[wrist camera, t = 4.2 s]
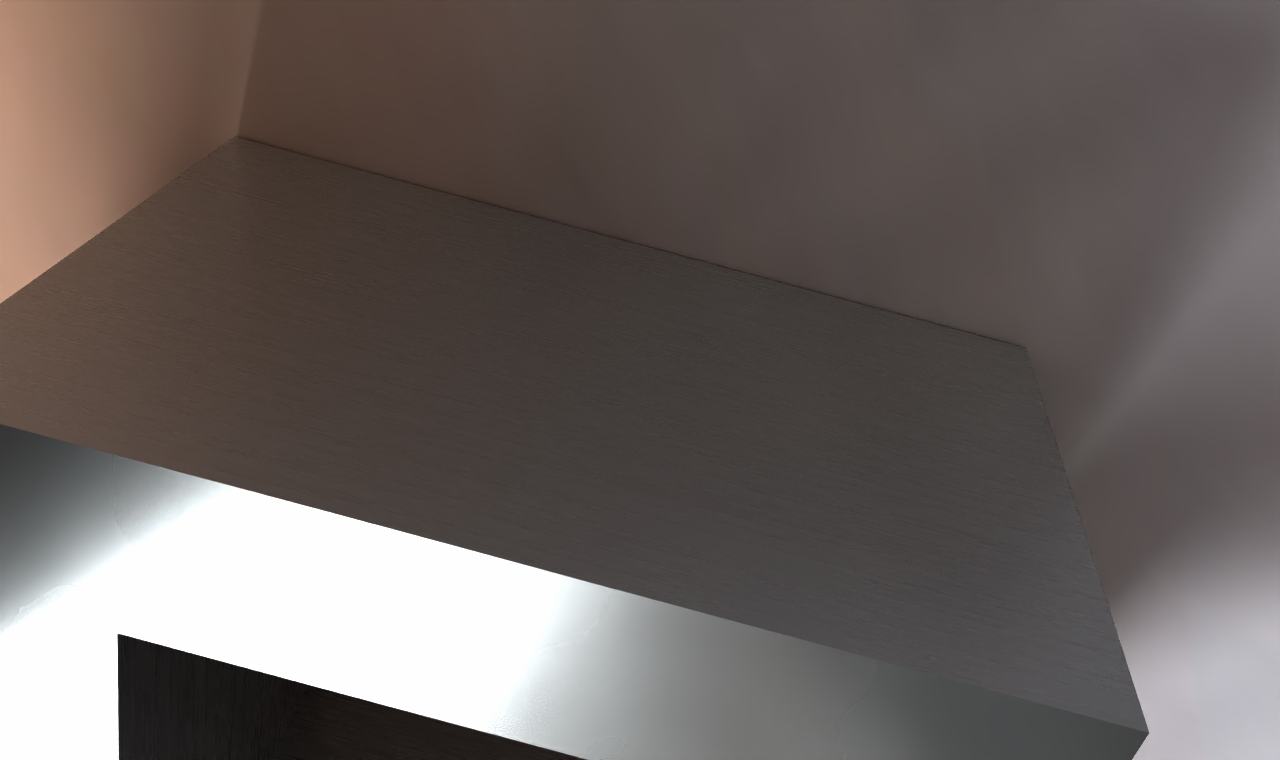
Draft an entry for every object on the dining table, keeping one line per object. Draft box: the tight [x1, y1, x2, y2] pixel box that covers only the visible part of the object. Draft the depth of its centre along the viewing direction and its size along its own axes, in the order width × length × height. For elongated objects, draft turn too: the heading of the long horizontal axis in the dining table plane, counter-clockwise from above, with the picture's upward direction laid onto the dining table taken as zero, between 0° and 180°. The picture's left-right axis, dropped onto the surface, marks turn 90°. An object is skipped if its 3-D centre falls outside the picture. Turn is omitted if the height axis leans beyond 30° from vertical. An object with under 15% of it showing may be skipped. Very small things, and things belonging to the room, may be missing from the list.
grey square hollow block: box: [0, 137, 1149, 760], centre depth 11 cm, size 8×8×5 cm
